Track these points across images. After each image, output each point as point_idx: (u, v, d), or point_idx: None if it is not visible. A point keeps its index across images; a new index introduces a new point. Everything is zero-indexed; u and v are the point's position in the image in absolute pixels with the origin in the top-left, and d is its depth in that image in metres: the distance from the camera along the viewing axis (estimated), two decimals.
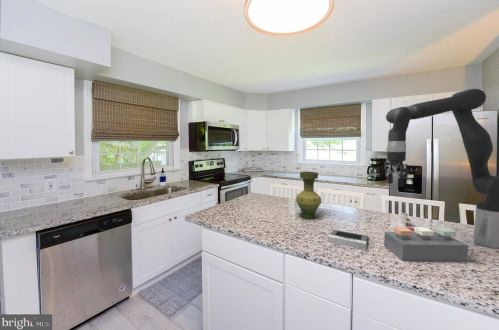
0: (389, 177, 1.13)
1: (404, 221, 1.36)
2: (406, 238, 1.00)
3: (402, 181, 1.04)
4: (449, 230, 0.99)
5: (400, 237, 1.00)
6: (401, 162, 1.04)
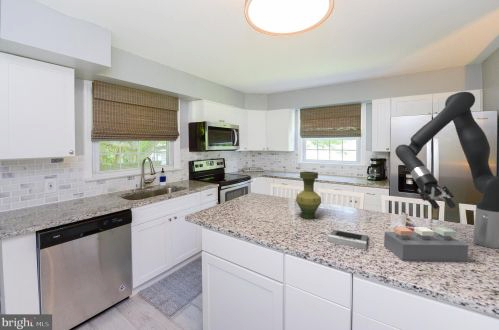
0: (447, 202, 1.03)
1: (404, 221, 1.36)
2: (406, 238, 1.00)
3: (432, 203, 1.01)
4: (449, 230, 0.99)
5: (400, 237, 1.00)
6: (423, 186, 1.06)
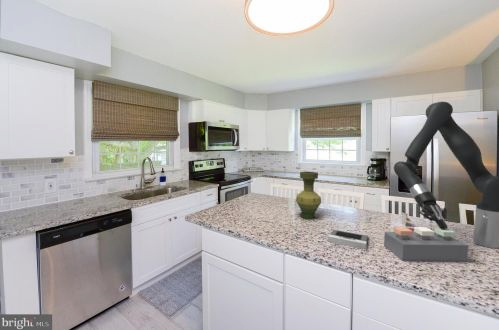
0: None
1: (404, 221, 1.36)
2: (406, 238, 1.00)
3: (439, 223, 1.01)
4: (449, 231, 0.99)
5: (400, 237, 1.00)
6: (422, 204, 1.07)
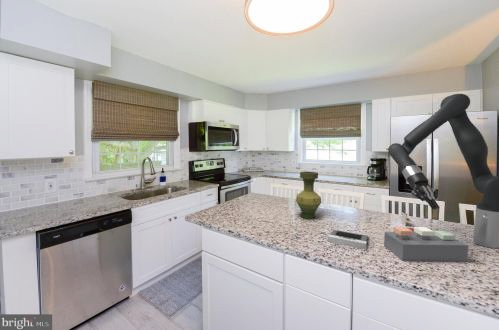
0: None
1: (404, 221, 1.36)
2: (406, 238, 1.00)
3: (430, 203, 1.01)
4: (449, 234, 0.99)
5: (400, 237, 1.00)
6: (414, 185, 1.07)
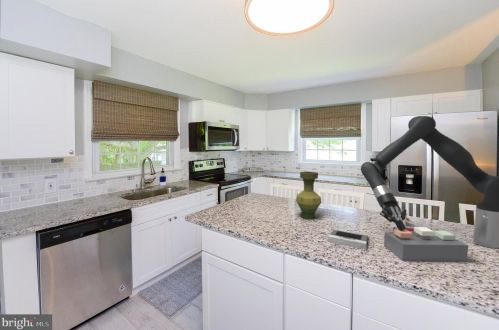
0: None
1: (404, 221, 1.36)
2: None
3: (397, 224, 1.02)
4: (449, 234, 0.99)
5: None
6: (382, 205, 1.08)
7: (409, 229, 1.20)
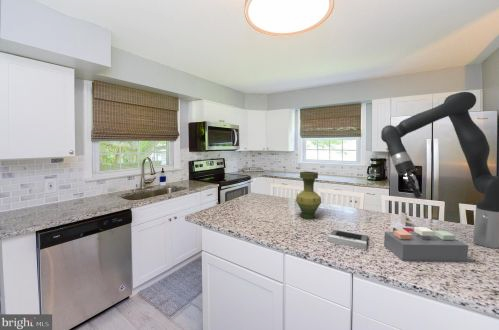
0: None
1: (404, 221, 1.36)
2: None
3: (416, 192, 1.04)
4: (449, 234, 0.99)
5: None
6: (405, 172, 1.06)
7: (409, 229, 1.20)
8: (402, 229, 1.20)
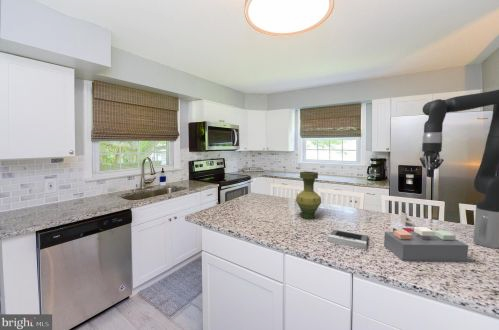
0: None
1: (404, 221, 1.36)
2: None
3: (432, 172, 1.12)
4: (449, 234, 0.99)
5: None
6: (438, 153, 1.08)
7: (409, 229, 1.20)
8: (402, 229, 1.20)
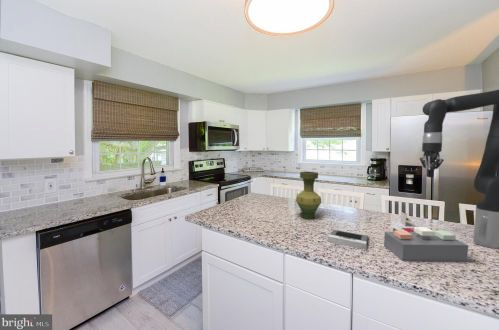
0: None
1: (404, 221, 1.36)
2: None
3: (432, 172, 1.12)
4: (449, 234, 0.99)
5: None
6: (438, 153, 1.08)
7: (408, 229, 1.20)
8: (402, 229, 1.20)
